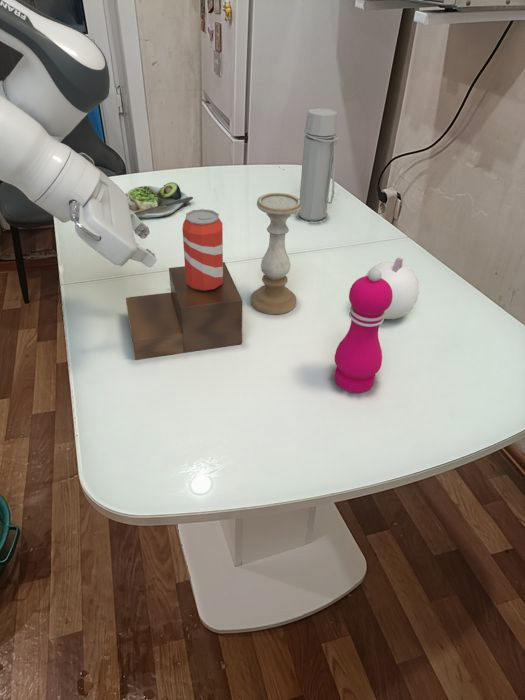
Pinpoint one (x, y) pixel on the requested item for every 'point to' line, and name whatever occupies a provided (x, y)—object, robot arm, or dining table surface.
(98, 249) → the robot arm
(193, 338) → the step shelf
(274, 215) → the candle holder
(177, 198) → the avocado toast plate
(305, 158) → the water bottle
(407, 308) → the ornament
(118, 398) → the dining table surface
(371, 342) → the pepper mill
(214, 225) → the beverage can
